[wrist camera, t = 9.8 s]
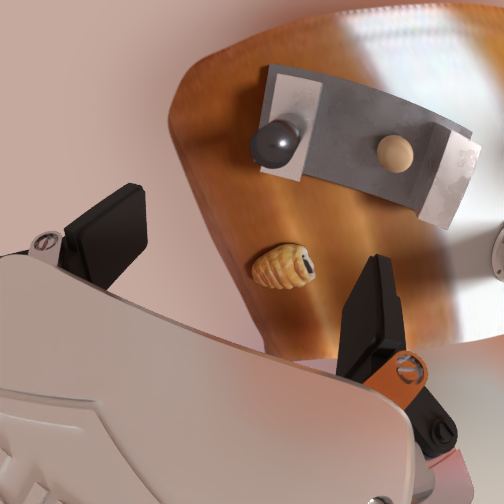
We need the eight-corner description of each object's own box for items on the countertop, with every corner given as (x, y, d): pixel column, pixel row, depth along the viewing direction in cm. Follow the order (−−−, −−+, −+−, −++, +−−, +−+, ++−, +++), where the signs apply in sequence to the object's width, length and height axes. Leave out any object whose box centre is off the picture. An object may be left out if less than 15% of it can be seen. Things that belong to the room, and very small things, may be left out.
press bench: (467, 129, 23) (491, 142, 18) (435, 213, 31) (450, 240, 26) (272, 63, 27) (258, 60, 21) (256, 157, 34) (240, 174, 29)
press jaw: (323, 82, 25) (316, 83, 15) (304, 166, 31) (285, 219, 21) (286, 74, 25) (253, 71, 15) (270, 158, 31) (234, 205, 21)
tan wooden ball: (412, 139, 26) (422, 147, 22) (402, 171, 28) (409, 183, 25) (380, 126, 26) (386, 133, 23) (370, 159, 28) (374, 170, 25)
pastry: (265, 287, 46) (259, 303, 43) (244, 253, 43) (236, 269, 40) (320, 272, 41) (317, 289, 38) (301, 235, 39) (297, 250, 36)
